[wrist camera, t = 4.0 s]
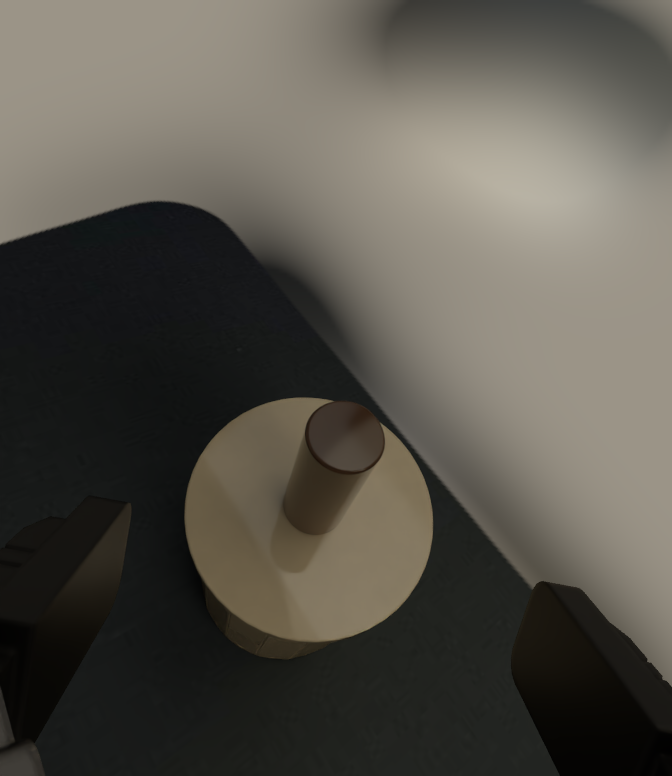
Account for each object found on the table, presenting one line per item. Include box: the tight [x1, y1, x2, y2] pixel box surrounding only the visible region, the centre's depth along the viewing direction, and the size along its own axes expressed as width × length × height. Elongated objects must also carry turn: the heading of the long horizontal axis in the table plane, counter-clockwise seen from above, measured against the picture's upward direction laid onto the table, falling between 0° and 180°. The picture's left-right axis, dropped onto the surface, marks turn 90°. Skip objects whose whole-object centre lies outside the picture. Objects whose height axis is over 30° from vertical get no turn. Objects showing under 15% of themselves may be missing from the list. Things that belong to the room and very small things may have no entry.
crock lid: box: [184, 398, 433, 644], centre depth 16 cm, size 8×8×6 cm
